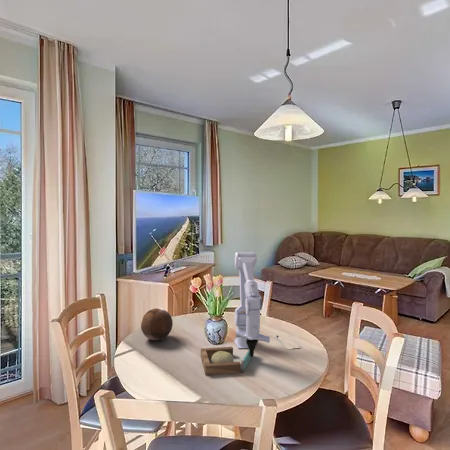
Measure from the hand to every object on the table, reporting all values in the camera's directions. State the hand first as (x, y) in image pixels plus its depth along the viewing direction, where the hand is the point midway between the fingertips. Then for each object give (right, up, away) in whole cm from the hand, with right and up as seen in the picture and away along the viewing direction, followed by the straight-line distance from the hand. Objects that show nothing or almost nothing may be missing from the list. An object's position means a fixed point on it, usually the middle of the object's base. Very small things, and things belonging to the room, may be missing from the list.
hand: (252, 355), depth 140 cm
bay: (-13, -2, -3) cm, 13 cm away
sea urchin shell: (-13, -2, -3) cm, 13 cm away
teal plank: (-2, -2, -3) cm, 4 cm away
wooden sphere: (-45, 0, +20) cm, 49 cm away
